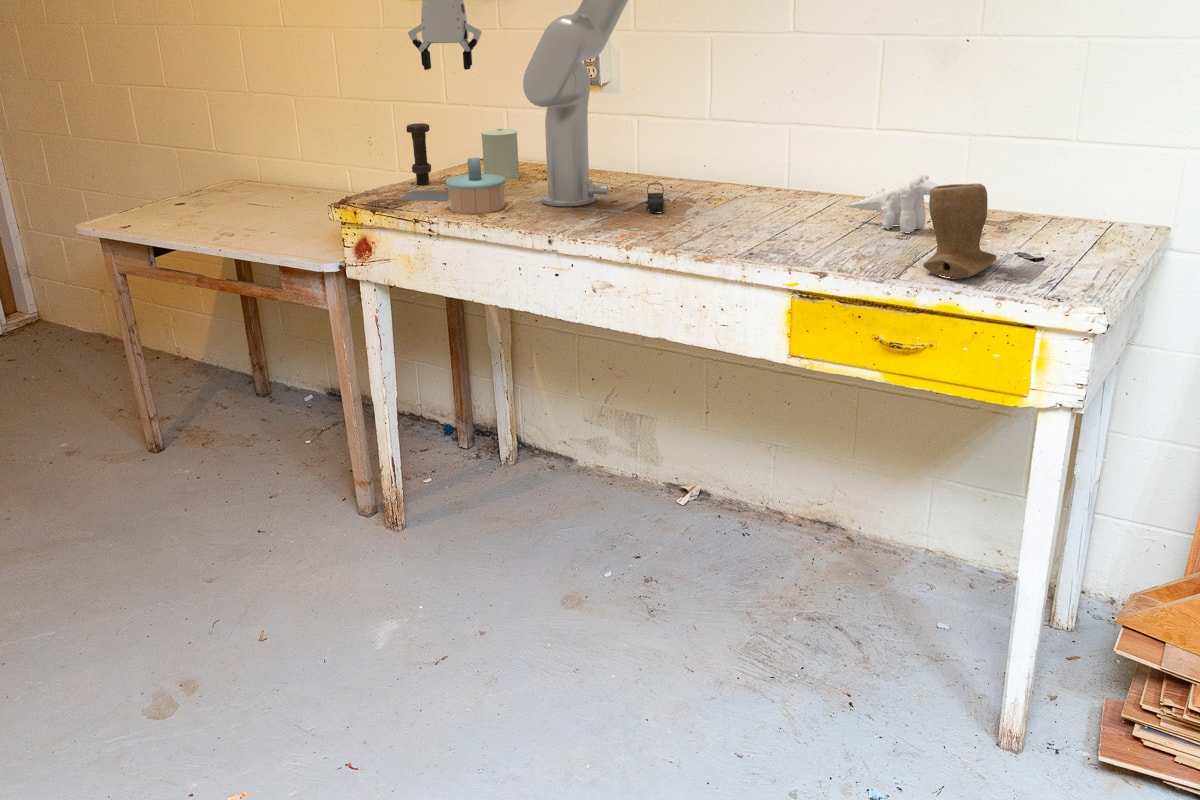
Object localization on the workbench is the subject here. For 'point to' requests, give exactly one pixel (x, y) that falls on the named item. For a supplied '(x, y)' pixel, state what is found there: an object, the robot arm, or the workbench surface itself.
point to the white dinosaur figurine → (900, 204)
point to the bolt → (420, 152)
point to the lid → (475, 178)
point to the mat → (426, 196)
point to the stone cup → (958, 230)
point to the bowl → (476, 200)
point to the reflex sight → (655, 200)
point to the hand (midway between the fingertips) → (447, 69)
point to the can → (500, 152)
